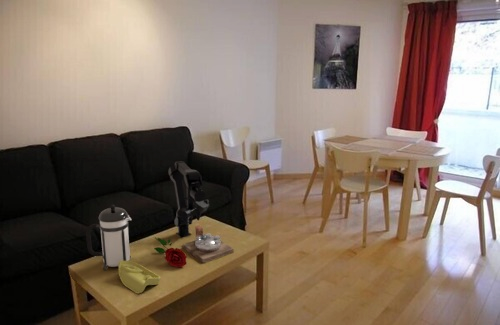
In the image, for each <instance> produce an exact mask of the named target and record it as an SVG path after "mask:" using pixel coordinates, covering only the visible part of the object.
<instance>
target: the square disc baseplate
mask: <svg viewBox="0 0 500 325" xmlns="http://www.w3.org/2000/svg"><path fill="white" fill-rule="evenodd" d="M211 236H213V235H212V234H211ZM182 248H183V249H184V250H186V251H187V252H188V253H190V254H191V255H192V256H193V257H195V258H196V259H197V260H199V261H200V262H202V263H203V264H205V263H207V262H210V261H214V260H216V259H219V258H222V257H224V256H227V255H231V254H233V253H234V250H235V249H234V248H233V247H231V246H229V245H228V244H227V243H226V242H223V241H222V240H221V247H220V248H219V249H218V250H216V251H214V252H201V251H198V250H197V249H196V248H195V240H192V241H189V242H186V243H183V244H182Z"/></svg>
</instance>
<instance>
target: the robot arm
mask: <svg viewBox="0 0 500 325" xmlns="http://www.w3.org/2000/svg"><path fill="white" fill-rule="evenodd" d="M168 176H169V179H170V180H171V181H172V183H173V184H174V190H175V197H176V203H177V208H178V209H177V210H176V212H175V214H176V216H175V218H174V220H173V221H174V225H175V226H176V227H177V229H178V231H177V232H175V235H177V236H178V237H180V238H185V237H188V236H191V235H192V233H191V232H190V229H189V228H190V227H189V225H192V224H193V218H194V217H193V215H192V212H193V211H194V214H195V217H196V220H197V221H200V219H201V216H202V213H204V212H207V211H208V208H210V201H209V199H206V193H205V191H203V190H202V187H203V179H202V175H201V173H200V172H199V171H198V170H196V169H191V168H190V167H189V166H188V165H187V164H186V162H185V161H175V162H174V164H172V165H170V167H169V168H168ZM183 180H184V182H183ZM184 183H185V185H186V195H185V190H184V189H185V188H184Z"/></svg>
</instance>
